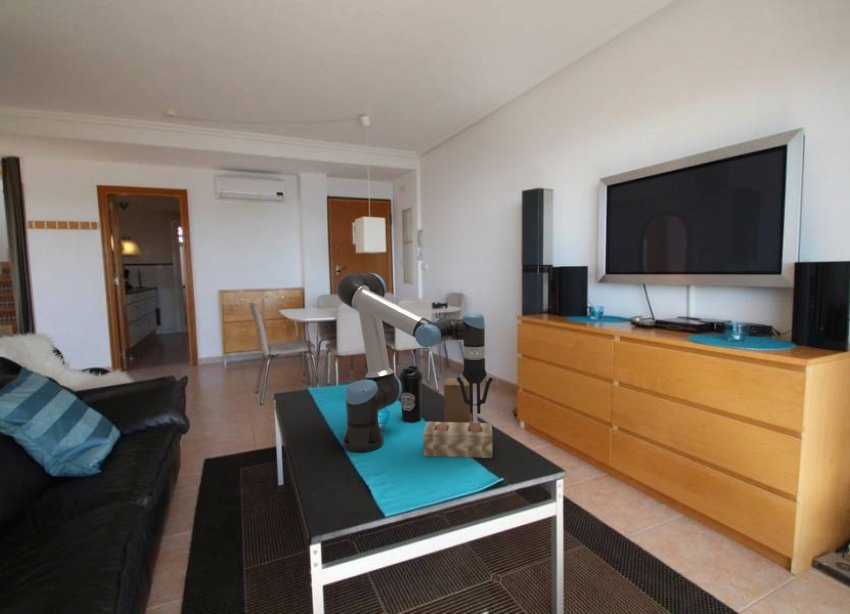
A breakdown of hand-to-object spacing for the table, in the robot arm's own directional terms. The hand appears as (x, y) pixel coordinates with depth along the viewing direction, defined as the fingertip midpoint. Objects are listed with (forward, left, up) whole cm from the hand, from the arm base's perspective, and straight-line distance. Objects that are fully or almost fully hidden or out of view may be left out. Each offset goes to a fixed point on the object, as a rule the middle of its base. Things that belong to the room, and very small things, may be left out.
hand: (475, 422), depth 157 cm
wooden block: (-7, +20, -11) cm, 24 cm away
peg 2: (0, 0, -9) cm, 8 cm away
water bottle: (-28, +30, -11) cm, 43 cm away
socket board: (-6, 0, -11) cm, 12 cm away
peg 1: (-12, 0, -10) cm, 16 cm away
